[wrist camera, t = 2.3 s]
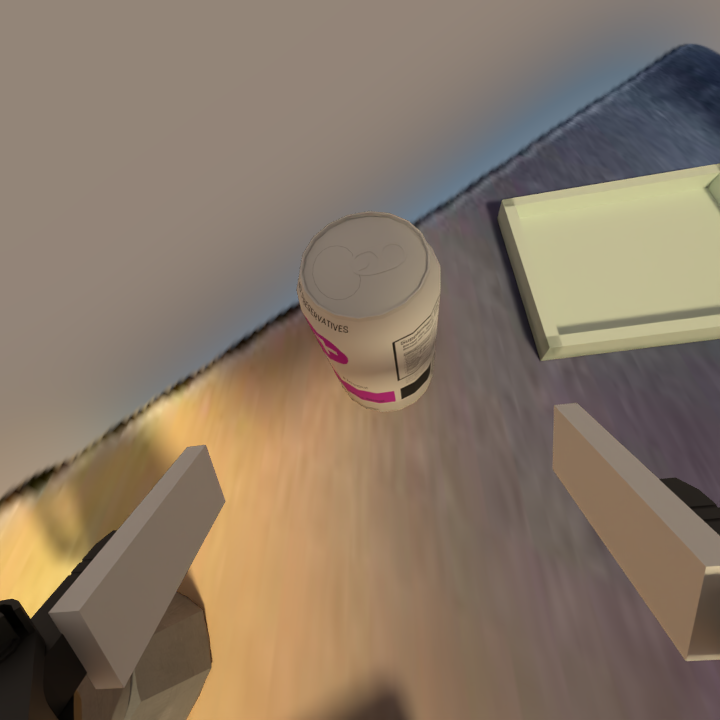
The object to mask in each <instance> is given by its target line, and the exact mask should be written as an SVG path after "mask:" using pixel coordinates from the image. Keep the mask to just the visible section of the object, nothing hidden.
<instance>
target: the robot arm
mask: <svg viewBox="0 0 720 720" xmlns="http://www.w3.org/2000/svg"><path fill="white" fill-rule="evenodd" d="M553 471H554V472H555V473H556V475H557V476H558V478H559V479H560V481H561V482H562V483H563V485H564V486H565V488H566V489H567V491H568V492H569V494H570V495H571V496H572V498H573V499H574V501H575V502H576V504H577V505H578V506H579V508H580V509H581V511H582V512H583V514H584V515H585V517H586V518H587V519H588V521H589V522H590V524H591V525H592V527H593V528H594V529H595V531H596V532H597V534H598V535H599V537H600V538H601V540H602V541H603V542H604V544H605V545H606V547H607V548H608V550H609V551H610V553H611V554H612V555H613V557H614V558H615V560H616V561H617V563H618V564H619V565H620V567H621V568H622V570H623V571H624V573H625V574H626V576H627V577H628V578H629V580H630V581H631V583H632V584H633V586H634V587H635V588H636V590H637V591H638V593H639V594H640V596H641V597H642V599H643V600H644V601H645V603H646V604H647V606H648V607H649V609H650V610H651V612H652V613H653V614H654V616H655V617H656V619H657V620H658V622H659V623H660V624H661V626H662V627H663V629H664V630H665V632H666V633H667V635H668V636H669V637H670V639H671V640H672V642H673V643H674V645H675V646H676V647H677V649H678V650H679V652H680V653H681V655H682V656H683V658H684V659H685V660H686V661H697V660H718V659H720V508H718V507H717V506H716V504H715V503H714V502H713V501H712V500H710V499H709V498H708V497H707V496H706V495H704V494H703V493H702V492H701V491H700V490H699V489H697V488H695V487H693V486H691V485H689V484H687V483H685V482H683V481H681V480H679V479H677V478H667V479H658V478H657V477H656V476H655V475H654V474H653V473H652V472H651V471H649V470H648V469H647V468H646V467H645V466H644V465H643V464H642V463H641V462H640V461H639V460H638V459H637V458H635V457H634V456H633V455H632V454H631V453H630V452H629V451H628V450H627V449H626V448H625V447H624V446H623V445H622V444H620V443H619V442H618V441H617V440H616V439H615V438H614V437H613V436H612V435H611V434H610V433H609V432H608V431H606V430H605V429H604V428H603V427H602V426H601V425H600V424H599V423H598V422H597V421H596V420H595V419H594V418H592V417H591V416H590V415H589V414H588V413H587V412H586V411H585V410H584V409H583V408H582V407H581V406H580V405H578V404H577V403H571V404H562V405H554V437H553ZM224 503H225V499H224V496H223V493H222V490H221V487H220V484H219V482H218V479H217V476H216V473H215V470H214V467H213V464H212V461H211V459H210V456H209V453H208V450H207V447H206V445H201V446H192V447H187V448H186V449H185V450H184V452H183V453H182V454H181V455H180V456H179V458H178V459H177V460H176V461H175V462H174V463H173V465H172V466H171V467H170V468H169V469H168V471H167V472H166V473H165V474H164V475H163V477H162V478H161V479H160V480H159V481H158V483H157V484H156V485H155V486H154V487H153V489H152V490H151V491H150V492H149V493H148V494H147V496H146V497H145V498H144V499H143V500H142V502H141V503H140V504H139V505H138V506H137V508H136V509H135V510H134V511H133V512H132V514H131V515H130V516H129V517H128V518H127V520H126V521H125V522H124V523H123V524H122V525H121V527H120V528H119V529H118V530H116V531H112V532H111V533H109V534H108V535H107V536H106V537H104V538H103V539H102V540H101V541H99V542H98V543H97V544H95V546H94V547H93V548H92V549H91V550H90V551H89V552H88V554H87V555H86V556H85V557H84V558H83V559H82V562H81V563H79V564H78V565H77V566H76V567H75V569H74V570H73V571H72V572H71V575H68V577H67V578H66V579H65V580H64V581H63V582H62V584H61V585H60V586H59V587H58V588H57V589H56V590H55V592H54V593H53V594H52V595H51V596H50V597H49V598H48V600H47V601H46V602H45V603H44V604H43V605H42V607H41V608H40V609H39V610H38V611H37V612H36V613H35V615H34V616H33V617H32V618H31V619H30V618H29V616H28V615H27V613H26V611H25V610H24V608H23V607H22V605H21V604H20V602H19V601H17V600H14V599H8V600H2V601H0V720H82V703H81V697H80V694H79V692H78V691H77V688H78V687H79V685H80V683H81V682H82V680H83V679H84V677H85V676H86V674H87V676H88V677H89V679H90V680H91V682H92V684H93V685H94V687H95V688H96V689H111V688H124V687H125V685H126V683H127V682H128V680H129V678H130V676H131V674H132V672H133V671H134V669H135V667H136V665H137V663H138V661H139V660H140V658H141V656H142V654H143V652H144V650H145V648H146V647H147V645H148V643H149V641H150V639H151V637H152V636H153V634H154V632H155V630H156V628H157V626H158V625H159V623H160V621H161V619H162V617H163V615H164V613H165V612H166V610H167V608H168V606H169V604H170V602H171V601H172V599H173V597H174V595H175V593H176V591H177V589H178V588H179V586H180V584H181V582H182V580H183V578H184V577H185V575H186V573H187V571H188V569H189V567H190V566H191V564H192V562H193V560H194V558H195V556H196V554H197V553H198V551H199V549H200V547H201V545H202V543H203V542H204V540H205V538H206V536H207V534H208V532H209V531H210V529H211V527H212V525H213V523H214V521H215V519H216V518H217V516H218V514H219V512H220V510H221V508H222V507H223V505H224Z"/></svg>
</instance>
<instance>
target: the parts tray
mask: <svg viewBox="0 0 720 720" xmlns="http://www.w3.org/2000/svg"><path fill="white" fill-rule="evenodd" d="M497 220H498V224H499V227H500V230H501V233H502V237H503V240H504V243H505V246H506V250H507V253H508V256H509V260H510V263H511V266H512V269H513V273H514V276H515V279H516V282H517V286H518V289H519V292H520V296H521V299H522V302H523V305H524V309H525V312H526V315H527V318H528V322H529V325H530V328H531V331H532V335H533V338H534V341H535V345H536V348H537V351H538V354H539V358H540V361H544V360H552V359H560V358H568V357H576V356H584V355H592V354H600V353H608V352H616V351H624V350H633V349H641V348H649V347H657V346H665V345H673V344H681V343H689V342H697V341H705V340H713V339H720V164H714V165H708V166H702V167H696V168H690V169H684V170H678V171H672V172H666V173H660V174H654V175H648V176H642V177H636V178H630V179H624V180H618V181H612V182H606V183H600V184H594V185H588V186H582V187H576V188H570V189H564V190H558V191H552V192H546V193H540V194H534V195H528V196H522V197H516V198H510V199H504V200H502V202H501V206H500V210H499V214H498V218H497Z"/></svg>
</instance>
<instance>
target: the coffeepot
mask: <svg viewBox="0 0 720 720" xmlns="http://www.w3.org/2000/svg"><path fill="white" fill-rule="evenodd" d="M210 670H211V656H210V641H209V634H208V630H207V625H206V623H205V620H204V613H203V610H202V609H201V608H200V607H198V606H197V605H196V604H194V603H193V602H192V601H191V600H190V599H189V598H187V597H186V596H184V595H182V594H180V593H178V592H176V593H175V595H174V597H173V599H172V601H171V602H170V604H169V606H168V608H167V610H166V612H165V613H164V615H163V617H162V619H161V621H160V623H159V625H158V626H157V628H156V630H155V632H154V634H153V636H152V637H151V639H150V641H149V643H148V645H147V647H146V648H145V650H144V652H143V654H142V656H141V658H140V660H139V661H138V663H137V665H136V667H135V669H134V671H133V672H132V674H131V676H130V678H129V680H128V682H127V683H126V685H125V687H124V688H111V689H96V688H95V687H94V685H93V684H92V682H91V680H90V679H89V677H88V676H87V674H86V676H85V677H84V679H83V680H82V682H81V683H80V685H79V687H78V688H77V691H78V692H79V694H80V697H81V703H82V720H186V719H187V717H188V715H189V713H190V711H191V709H192V708H193V706H194V704H195V702H196V701H197V699H198V697H199V695H200V693H201V690H202V688H203V685H204V683H205V680H206V678H207V676H208V674H209V672H210Z"/></svg>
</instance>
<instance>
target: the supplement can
mask: <svg viewBox="0 0 720 720" xmlns="http://www.w3.org/2000/svg"><path fill="white" fill-rule="evenodd" d="M440 288H441V287H440V264H439V262H438V260H437V258H436V256H435V254H434V252H433V249H432V247H431V246H430V245H429V244H428V243H427V242H426V241H425V239H424V236H423V234H422V233H421V232H420V231H419V230H418V229H417V228H416V227H415V226H413V225H412V224H411V223H410V222H409V221H408V220H405V219H403V218H400V217H398V216H395V215H393V214H390V213H383V212H370V211H367V212H362V213H357V214H351V215H346V216H344V217H342V218H340V219H338V220H336V221H334V222H331V223H329V224H328V225H327V226H325V227H324V228H323V229H322V230H321V231H320V232H318V233H317V234H316V235H315V236H314V237H313V238H312V239H311V241H310V243H309V244H308V246H307V248H306V249H305V251H304V253H303V255H302V261H301V266H300V274H299V279H298V285H297V294H298V298H299V302H300V307H301V310H302V312H303V314H304V316H305V318H306V320H307V322H308V323H309V325H310V327H311V329H312V331H313V333H314V334H315V336H316V338H317V340H318V342H319V344H320V346H321V347H322V349H323V351H324V353H325V355H326V357H327V358H328V360H329V362H330V364H331V366H332V368H333V370H334V371H335V373H336V375H337V377H338V379H339V381H340V382H341V384H342V386H343V388H344V389H345V390H346V392H347V393H348V395H349V396H350V397H351V399H352V400H354V401H355V402H357V403H358V404H360V405H361V406H363V407H365V408H366V409H371V410H375V411H380V412H387V411H395V410H401V409H403V408H405V407H407V406H409V405H411V404H413V403H415V402H416V401H417V400H418V399H419V398H420V397H421V396H422V395H423V393H424V392H425V391H426V390H427V388H428V386H429V384H430V381H431V379H432V376H433V369H434V357H435V346H436V334H437V323H438V311H439V300H440Z"/></svg>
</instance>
